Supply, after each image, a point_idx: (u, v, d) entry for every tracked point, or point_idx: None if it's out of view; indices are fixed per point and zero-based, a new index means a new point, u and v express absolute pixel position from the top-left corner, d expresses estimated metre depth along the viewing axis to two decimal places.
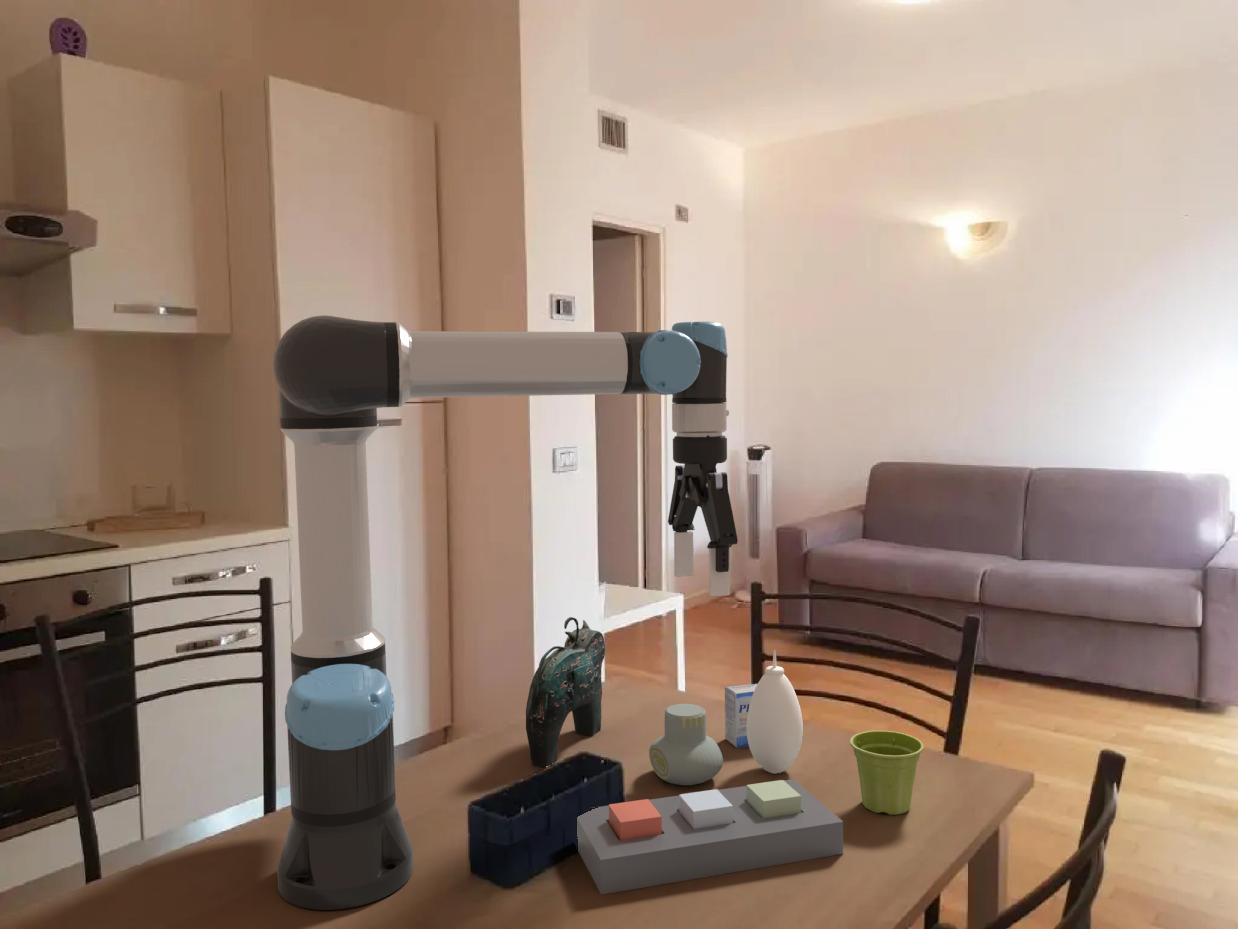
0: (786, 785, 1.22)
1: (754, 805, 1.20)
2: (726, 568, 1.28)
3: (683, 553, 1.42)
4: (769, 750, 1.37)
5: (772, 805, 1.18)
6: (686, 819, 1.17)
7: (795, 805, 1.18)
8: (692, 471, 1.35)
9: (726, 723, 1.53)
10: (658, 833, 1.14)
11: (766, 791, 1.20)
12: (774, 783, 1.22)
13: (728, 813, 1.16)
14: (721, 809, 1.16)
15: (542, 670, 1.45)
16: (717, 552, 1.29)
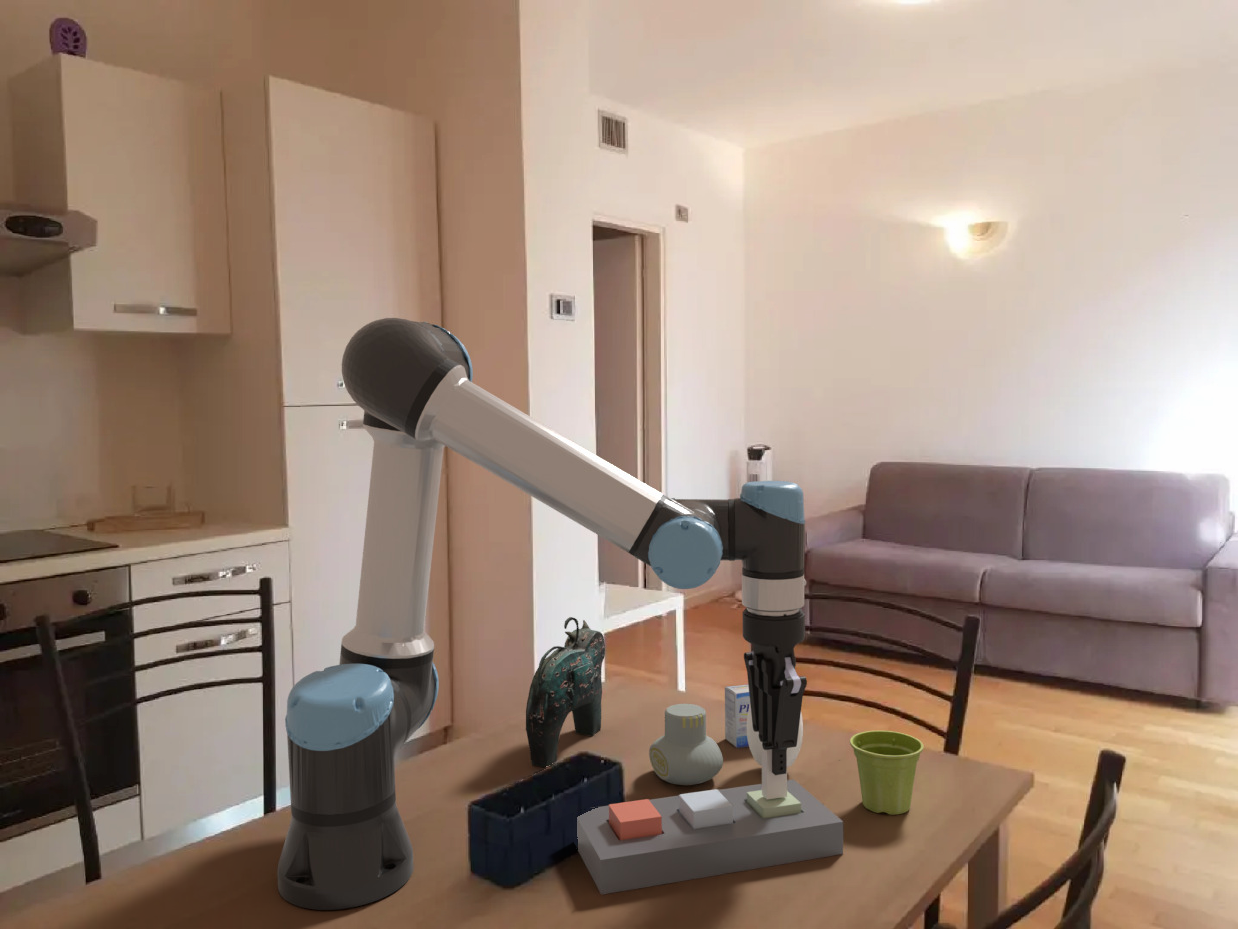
0: None
1: None
2: (784, 771, 1.18)
3: None
4: None
5: (772, 813, 1.18)
6: (686, 819, 1.17)
7: (795, 812, 1.18)
8: (765, 650, 1.18)
9: (726, 723, 1.53)
10: (658, 833, 1.14)
11: None
12: None
13: (728, 813, 1.16)
14: (721, 809, 1.16)
15: (542, 670, 1.45)
16: (773, 753, 1.18)
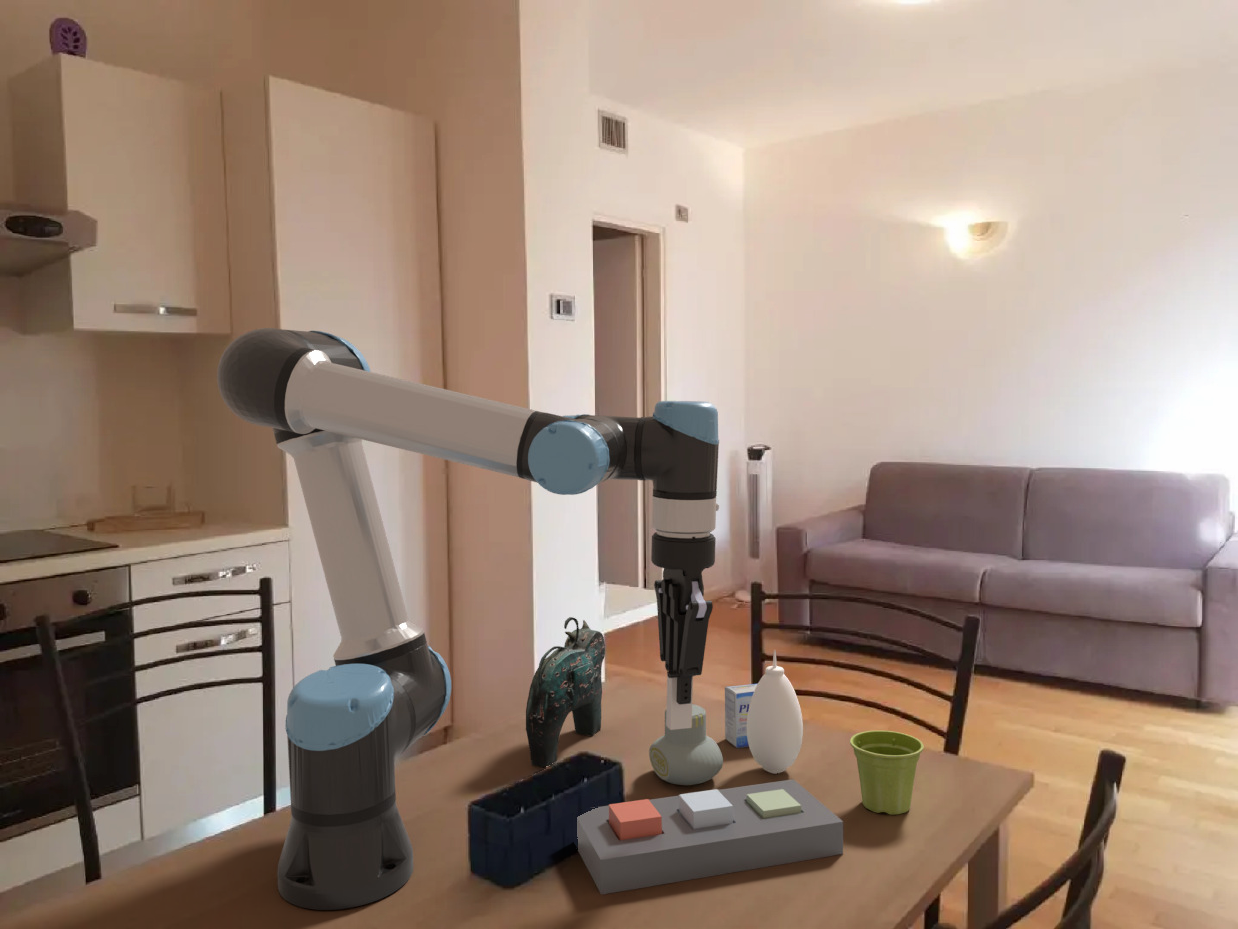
0: (786, 794, 1.22)
1: None
2: (688, 700, 1.14)
3: None
4: (769, 750, 1.37)
5: (772, 815, 1.18)
6: (686, 819, 1.17)
7: None
8: (673, 575, 1.14)
9: (726, 723, 1.53)
10: (658, 833, 1.14)
11: (766, 800, 1.20)
12: (774, 792, 1.22)
13: (728, 813, 1.16)
14: (721, 809, 1.16)
15: (542, 670, 1.45)
16: (678, 682, 1.15)
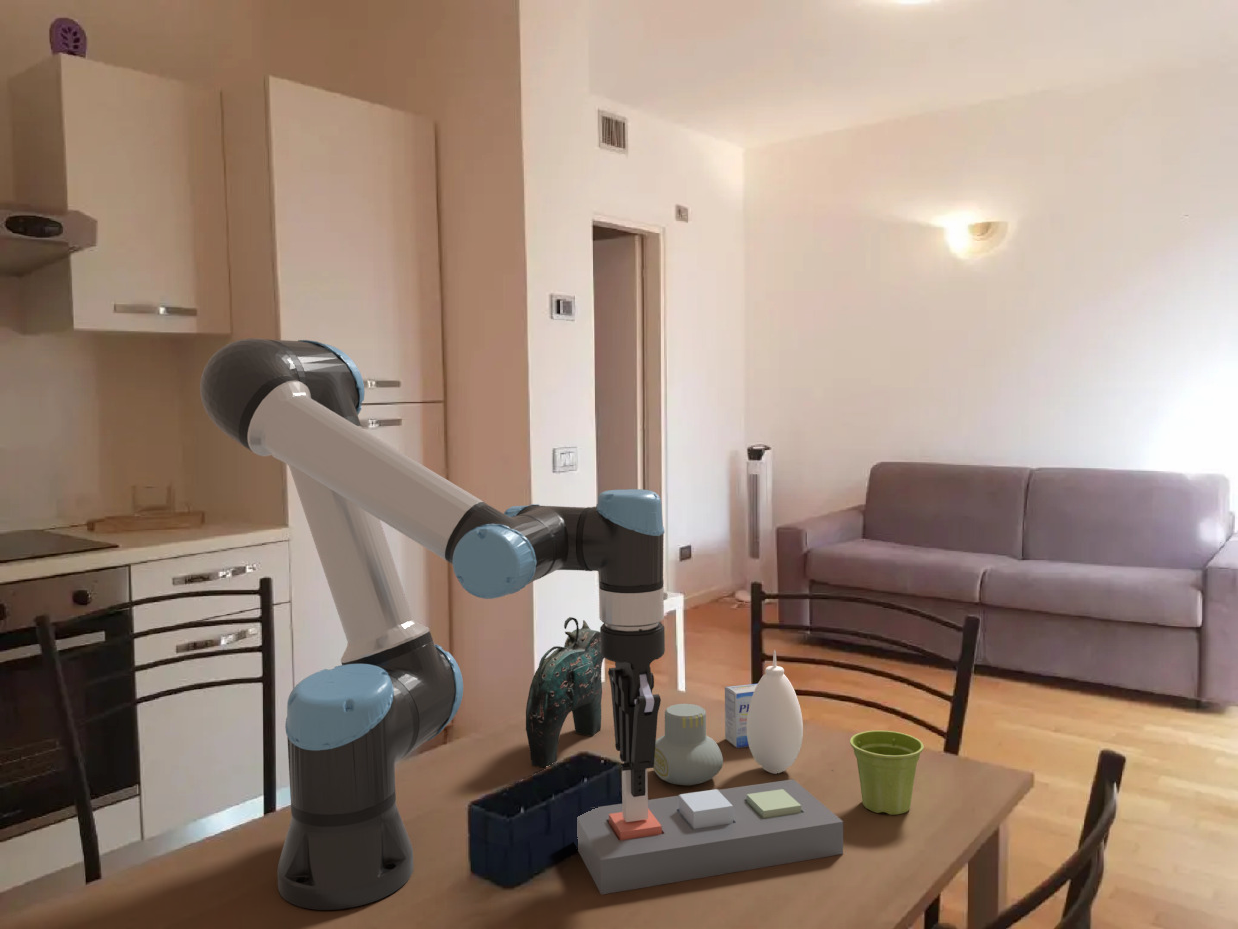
0: (786, 794, 1.22)
1: None
2: (642, 792, 1.13)
3: None
4: (769, 750, 1.37)
5: (772, 815, 1.18)
6: (686, 819, 1.17)
7: None
8: (623, 666, 1.13)
9: (726, 723, 1.53)
10: None
11: (766, 800, 1.20)
12: (774, 792, 1.22)
13: (728, 813, 1.16)
14: (721, 809, 1.16)
15: (542, 670, 1.45)
16: (632, 774, 1.13)
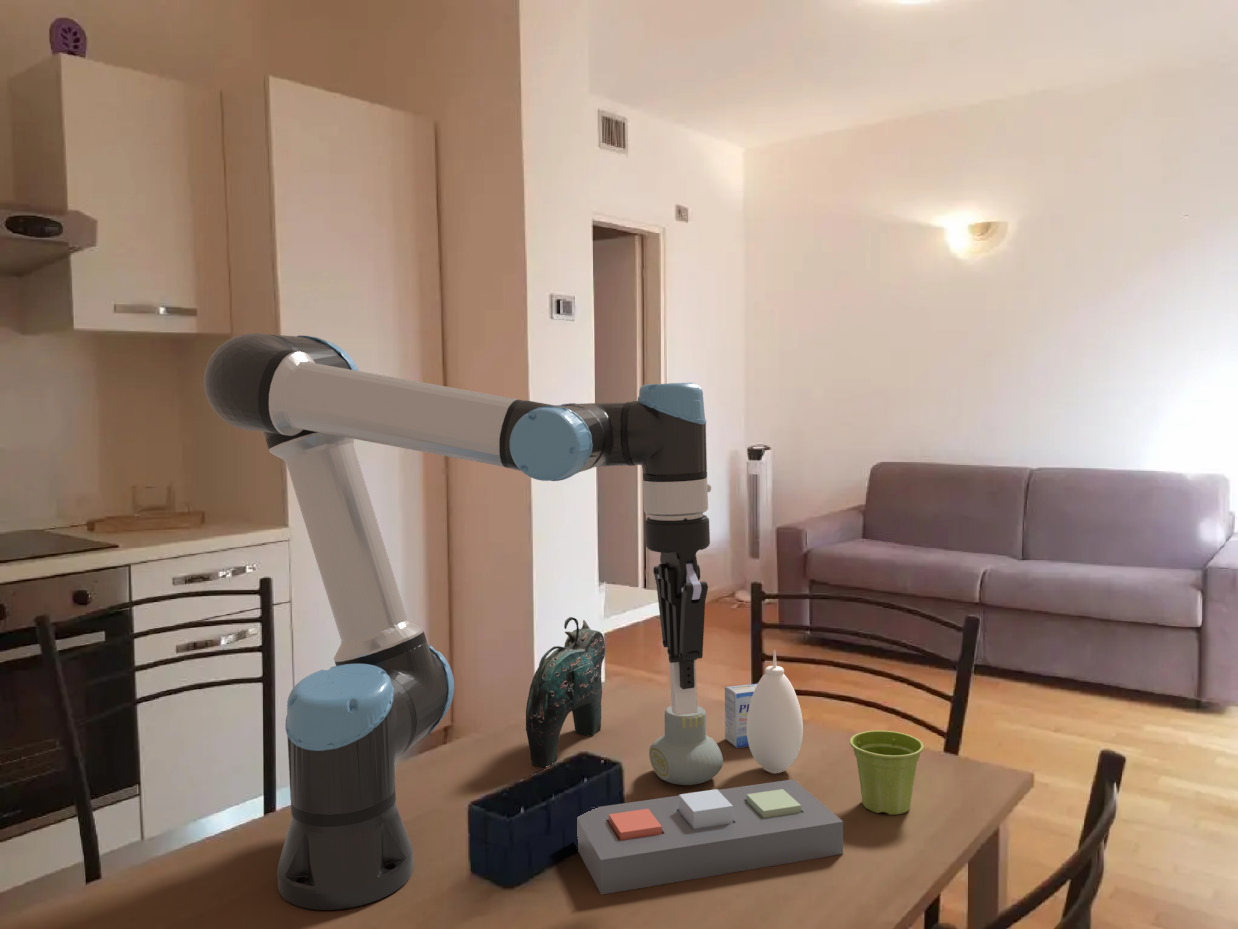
0: (786, 794, 1.22)
1: None
2: (691, 684, 1.13)
3: None
4: (769, 750, 1.37)
5: (772, 815, 1.18)
6: (686, 819, 1.17)
7: None
8: (669, 559, 1.14)
9: (726, 723, 1.53)
10: None
11: (766, 800, 1.20)
12: (774, 792, 1.22)
13: (728, 813, 1.16)
14: (721, 809, 1.16)
15: (542, 670, 1.45)
16: (680, 667, 1.13)
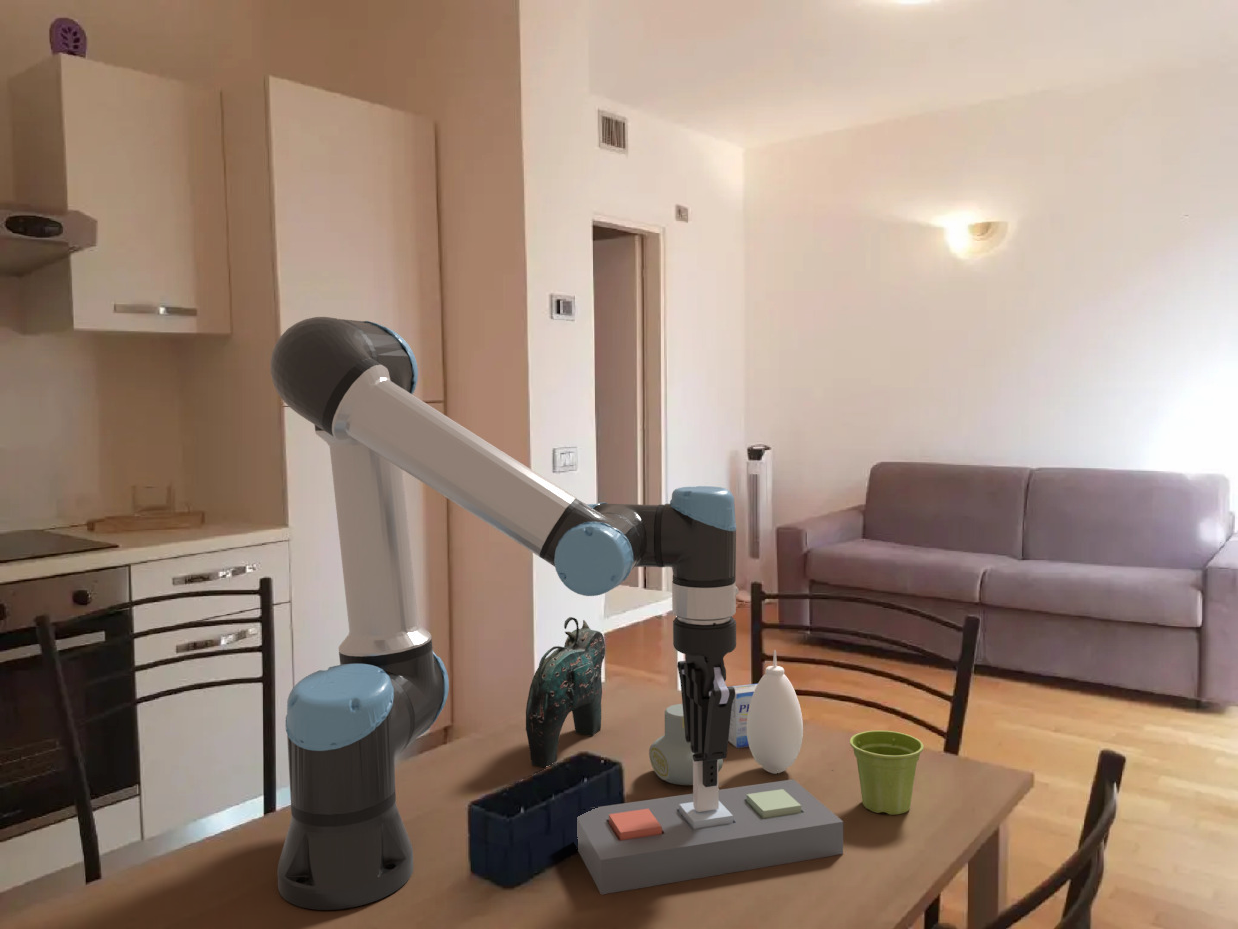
0: (786, 794, 1.22)
1: None
2: (714, 782, 1.16)
3: None
4: (769, 750, 1.37)
5: (772, 815, 1.18)
6: None
7: None
8: (695, 659, 1.16)
9: None
10: None
11: (766, 800, 1.20)
12: (774, 792, 1.22)
13: (728, 823, 1.16)
14: (721, 819, 1.16)
15: (542, 670, 1.45)
16: (704, 765, 1.16)
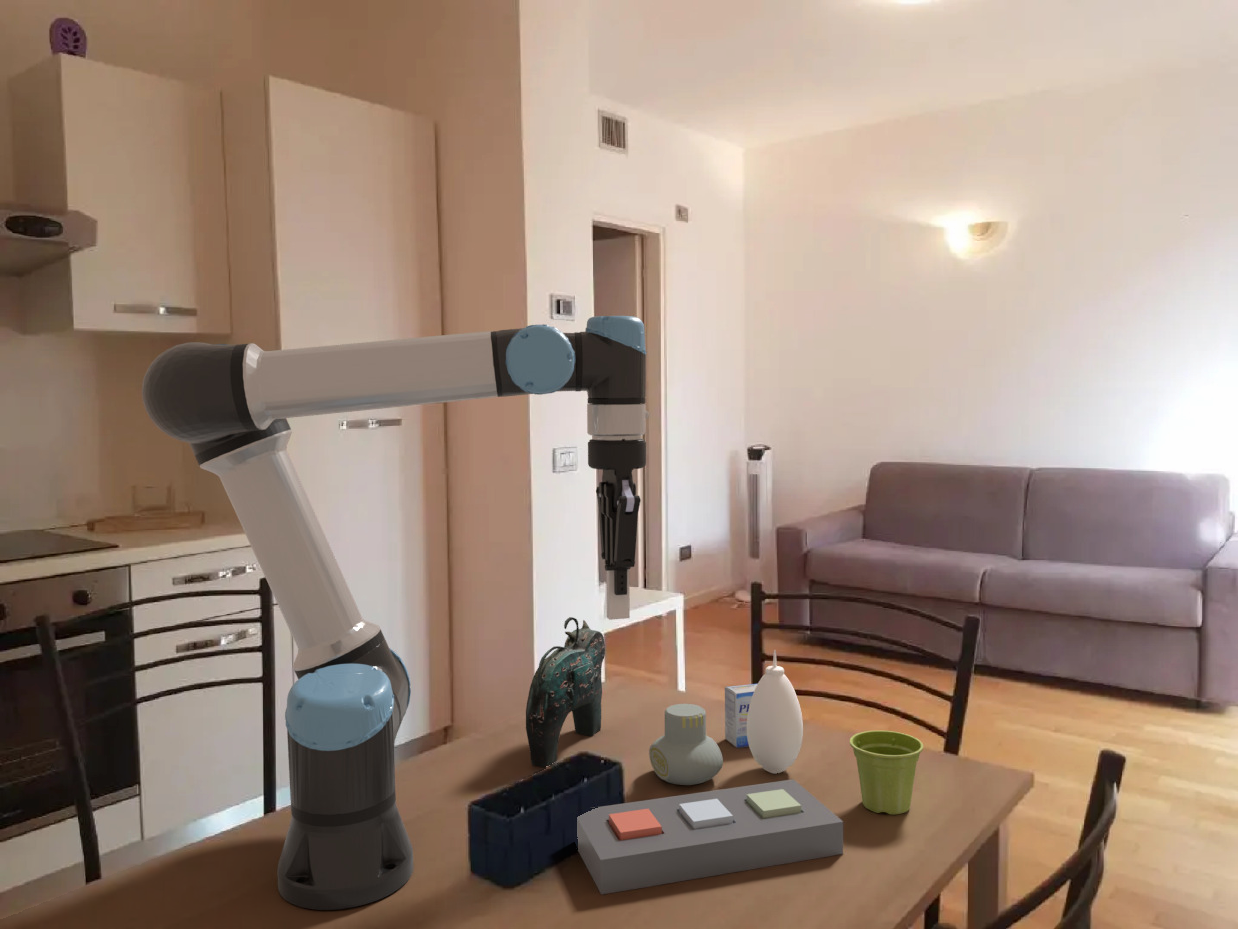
0: (786, 794, 1.22)
1: None
2: (624, 591, 1.25)
3: None
4: (769, 749, 1.37)
5: (772, 815, 1.18)
6: None
7: None
8: (608, 477, 1.25)
9: (726, 723, 1.53)
10: None
11: (766, 800, 1.20)
12: (774, 792, 1.22)
13: (728, 823, 1.16)
14: (721, 819, 1.16)
15: (542, 670, 1.45)
16: (615, 575, 1.25)
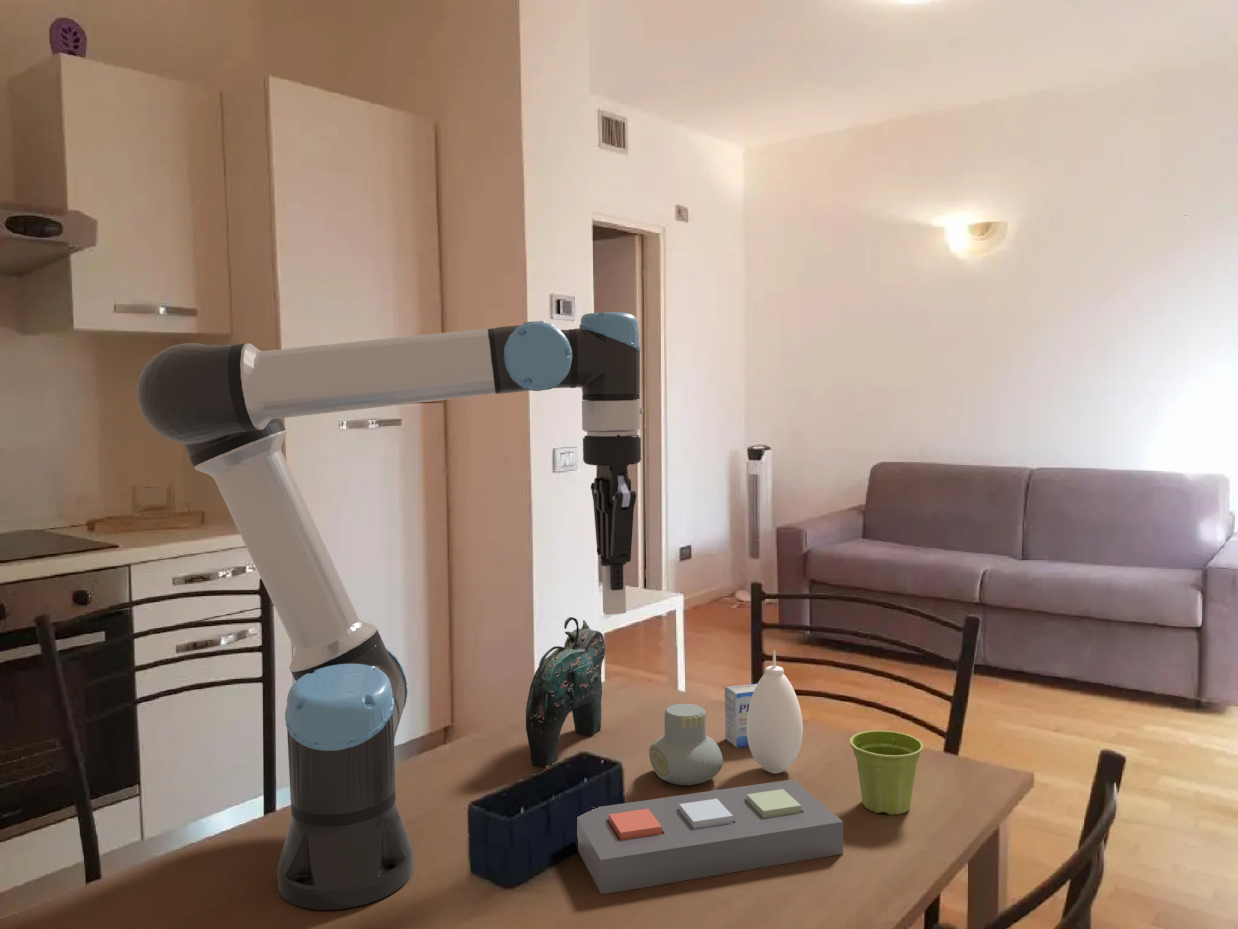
0: (786, 794, 1.22)
1: None
2: (620, 586, 1.26)
3: None
4: (769, 750, 1.37)
5: (772, 815, 1.18)
6: None
7: None
8: (604, 473, 1.26)
9: (726, 723, 1.53)
10: None
11: (766, 800, 1.20)
12: (774, 792, 1.22)
13: (728, 823, 1.16)
14: (721, 819, 1.16)
15: (542, 670, 1.45)
16: (611, 570, 1.26)
